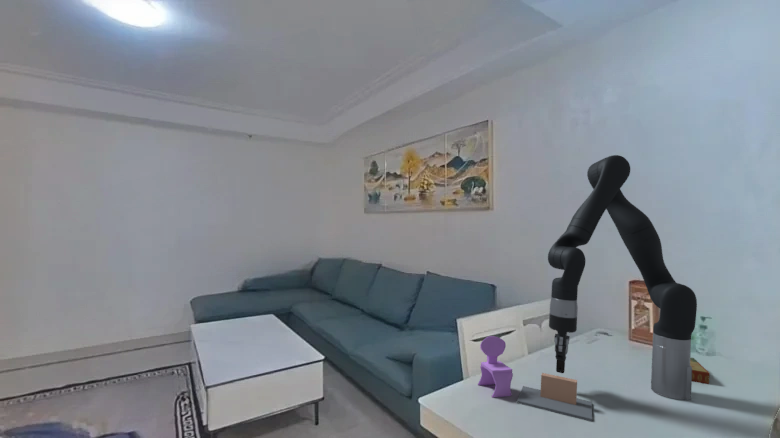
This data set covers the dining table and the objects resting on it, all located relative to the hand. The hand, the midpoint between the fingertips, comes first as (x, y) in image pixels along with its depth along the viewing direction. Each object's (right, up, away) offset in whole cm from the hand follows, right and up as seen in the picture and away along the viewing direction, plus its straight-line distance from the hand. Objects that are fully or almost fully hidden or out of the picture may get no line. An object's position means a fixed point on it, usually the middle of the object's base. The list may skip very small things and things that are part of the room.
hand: (560, 371), depth 112 cm
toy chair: (-20, -5, -2) cm, 21 cm away
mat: (-6, -5, -9) cm, 11 cm away
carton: (+52, -9, +19) cm, 56 cm away
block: (-4, -5, -8) cm, 10 cm away
